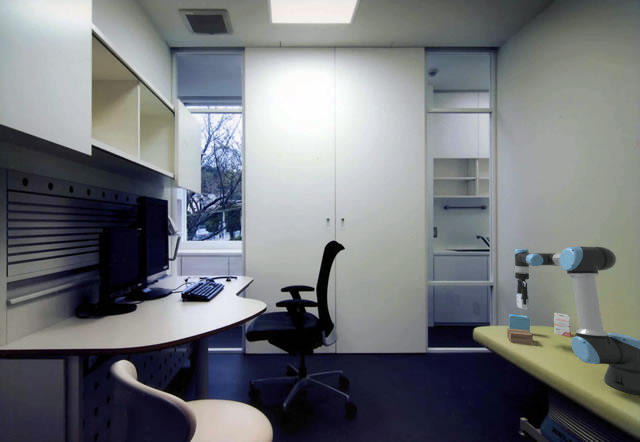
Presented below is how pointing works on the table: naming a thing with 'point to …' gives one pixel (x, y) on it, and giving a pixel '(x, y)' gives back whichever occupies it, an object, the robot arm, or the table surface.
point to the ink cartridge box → (562, 324)
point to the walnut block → (519, 336)
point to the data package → (519, 322)
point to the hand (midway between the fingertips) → (522, 307)
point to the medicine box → (519, 301)
